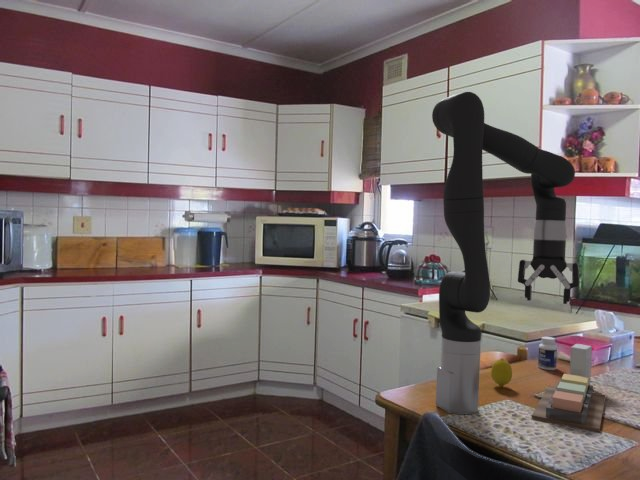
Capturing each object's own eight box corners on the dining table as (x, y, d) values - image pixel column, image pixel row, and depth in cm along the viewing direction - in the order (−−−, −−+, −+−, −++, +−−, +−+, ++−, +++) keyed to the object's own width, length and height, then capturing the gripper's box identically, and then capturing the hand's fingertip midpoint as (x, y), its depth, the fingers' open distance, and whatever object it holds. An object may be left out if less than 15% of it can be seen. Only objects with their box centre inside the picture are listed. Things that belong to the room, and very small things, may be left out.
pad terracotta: (580, 415, 120) (581, 402, 120) (551, 409, 123) (552, 397, 123) (582, 407, 125) (583, 395, 125) (555, 402, 128) (555, 390, 128)
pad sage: (583, 404, 128) (584, 391, 128) (556, 399, 131) (557, 387, 131) (585, 397, 133) (586, 385, 133) (559, 393, 136) (559, 381, 136)
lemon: (507, 391, 144) (509, 362, 144) (487, 386, 147) (488, 358, 147) (514, 386, 148) (515, 358, 148) (494, 382, 152) (495, 354, 151)
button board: (599, 432, 116) (599, 418, 116) (531, 418, 123) (532, 405, 123) (605, 398, 140) (605, 386, 140) (548, 388, 148) (548, 377, 147)
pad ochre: (586, 394, 136) (586, 382, 135) (560, 390, 139) (561, 378, 138) (588, 388, 141) (588, 377, 141) (563, 384, 144) (563, 373, 144)
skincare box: (574, 384, 152) (575, 343, 152) (590, 387, 149) (592, 345, 149) (568, 389, 147) (570, 346, 147) (585, 392, 145) (587, 349, 144)
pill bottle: (535, 368, 169) (537, 337, 169) (540, 364, 173) (541, 335, 173) (553, 371, 166) (555, 340, 165) (558, 368, 170) (559, 337, 170)
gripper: (517, 237, 135) (515, 300, 136) (579, 239, 128) (576, 306, 128) (522, 237, 142) (520, 297, 142) (581, 239, 134) (579, 303, 135)
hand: (547, 301), depth 135 cm, fingers open, 8 cm apart
